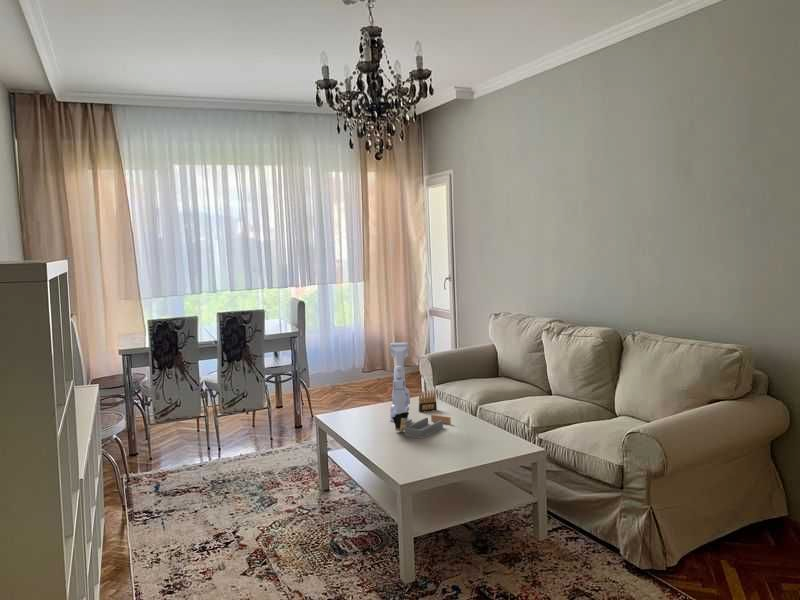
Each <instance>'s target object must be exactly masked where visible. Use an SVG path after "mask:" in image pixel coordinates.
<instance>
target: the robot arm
mask: <svg viewBox="0 0 800 600" xmlns="http://www.w3.org/2000/svg"><path fill="white" fill-rule="evenodd" d="M389 344H390V347H389V350H390V351H389V352H390V355H391V357H392V358H394V359H395V367H394V368H393V380H392V392H391V402H392V403H391V404H392V405H391V406H390V414H389V415H390V419H389V422H393V423H394V427H395V426H396V428H398V429H400V424H401V418H406V423H408V422H409V421H412V418H409V414H410V413H409V411H410V406H409V405H410V403H411V394H410V390H409V389H408V388H407V387H406V377H405V373H406V372H405V367H404V366H405V358H407V357H409V342H407V341H406V342H391V343H389Z"/></svg>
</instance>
